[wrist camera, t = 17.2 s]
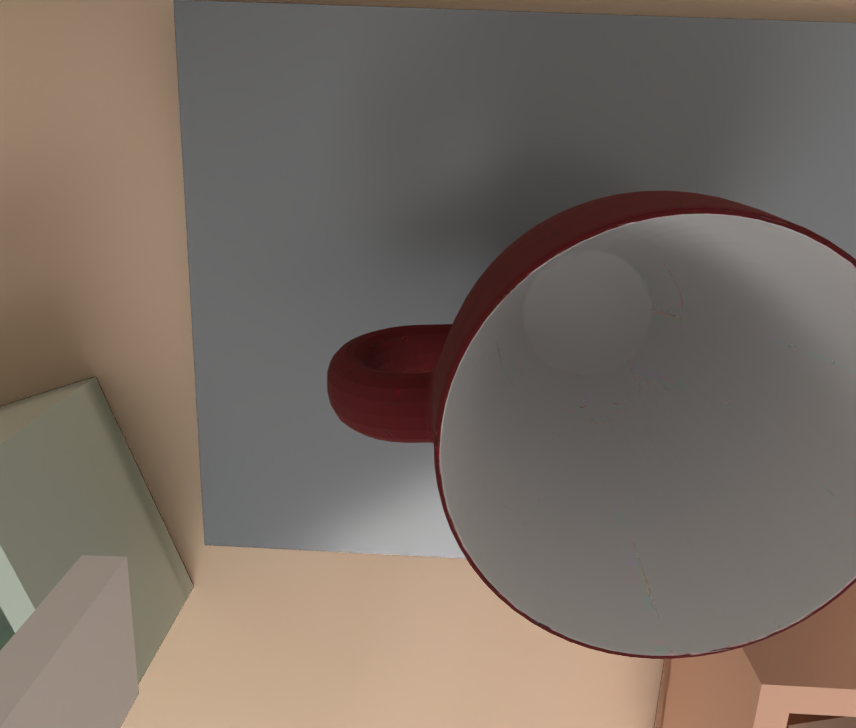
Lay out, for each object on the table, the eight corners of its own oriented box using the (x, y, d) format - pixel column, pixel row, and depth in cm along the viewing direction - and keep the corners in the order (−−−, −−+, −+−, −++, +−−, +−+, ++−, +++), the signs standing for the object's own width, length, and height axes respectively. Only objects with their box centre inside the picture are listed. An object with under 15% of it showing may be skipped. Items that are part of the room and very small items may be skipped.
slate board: (215, 526, 26) (204, 545, 25) (188, 6, 21) (173, -1, 20) (818, 557, 26) (835, 578, 25) (930, 31, 21) (957, 26, 20)
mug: (392, 476, 24) (349, 711, 15) (330, 217, 22) (228, 295, 12) (741, 415, 23) (940, 625, 14) (713, 136, 21) (930, 152, 11)
